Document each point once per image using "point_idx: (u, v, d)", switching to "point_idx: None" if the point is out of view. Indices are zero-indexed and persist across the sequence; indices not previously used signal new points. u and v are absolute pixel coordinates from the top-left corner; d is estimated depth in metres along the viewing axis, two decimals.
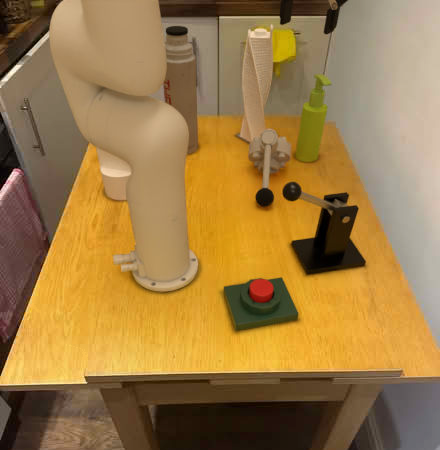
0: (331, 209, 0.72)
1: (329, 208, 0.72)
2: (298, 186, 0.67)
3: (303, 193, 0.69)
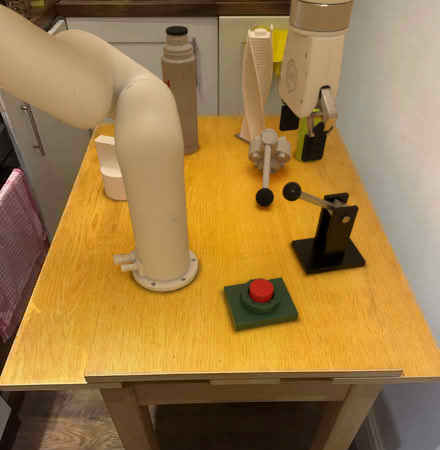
0: (331, 209, 0.72)
1: (329, 208, 0.72)
2: (298, 186, 0.67)
3: (303, 193, 0.69)
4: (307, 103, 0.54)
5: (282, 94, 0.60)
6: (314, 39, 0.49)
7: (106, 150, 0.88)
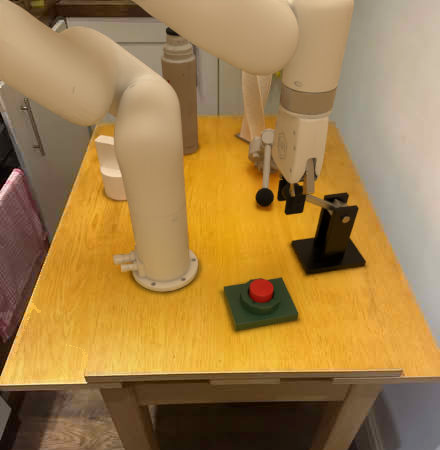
0: (331, 209, 0.72)
1: (329, 208, 0.72)
2: None
3: None
4: (296, 172, 0.59)
5: (274, 158, 0.65)
6: (301, 120, 0.55)
7: (106, 150, 0.88)
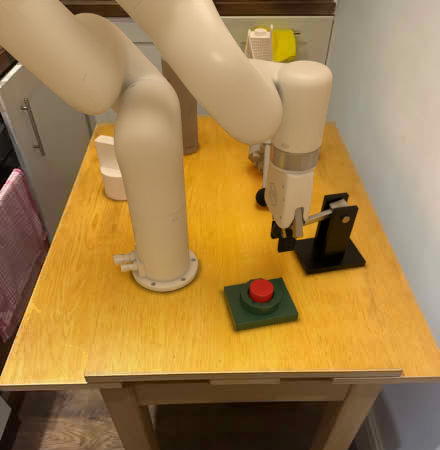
0: (329, 216, 0.73)
1: (326, 217, 0.73)
2: None
3: None
4: (285, 219, 0.66)
5: (267, 202, 0.72)
6: (288, 176, 0.61)
7: (106, 150, 0.88)
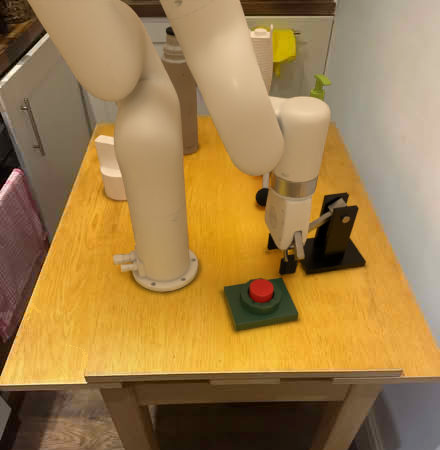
0: (330, 218, 0.74)
1: (328, 219, 0.74)
2: None
3: None
4: (284, 242, 0.69)
5: (267, 223, 0.75)
6: (288, 203, 0.65)
7: (106, 150, 0.88)
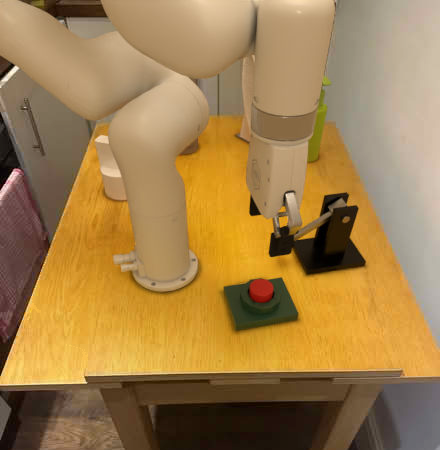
0: (330, 218, 0.74)
1: (328, 219, 0.74)
2: None
3: (295, 235, 0.75)
4: (271, 207, 0.51)
5: (249, 186, 0.56)
6: (275, 148, 0.46)
7: (106, 150, 0.88)
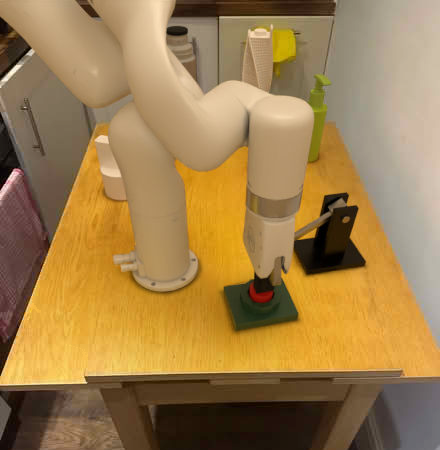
0: (330, 218, 0.74)
1: (328, 219, 0.74)
2: None
3: (295, 235, 0.75)
4: (264, 269, 0.58)
5: (245, 245, 0.64)
6: (266, 224, 0.53)
7: (106, 150, 0.88)
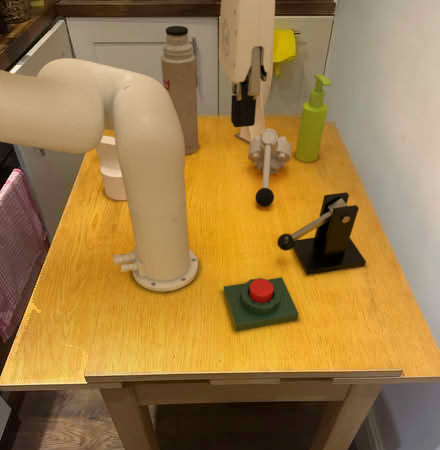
0: (330, 218, 0.74)
1: (328, 219, 0.74)
2: (284, 239, 0.75)
3: (295, 235, 0.75)
4: (240, 66, 0.50)
5: (221, 60, 0.56)
6: None
7: (106, 150, 0.88)
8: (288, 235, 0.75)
